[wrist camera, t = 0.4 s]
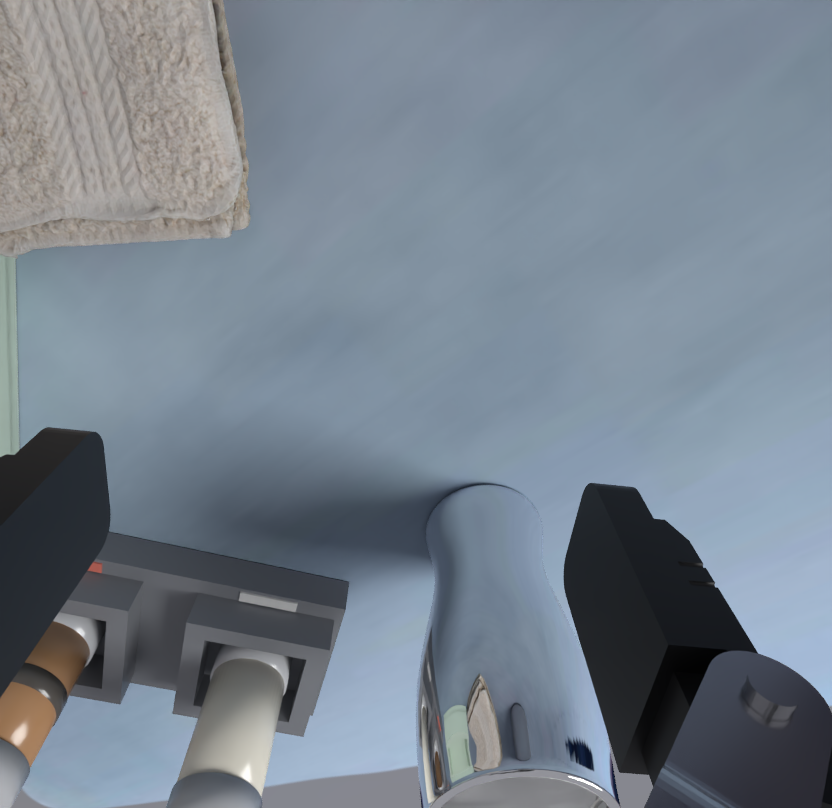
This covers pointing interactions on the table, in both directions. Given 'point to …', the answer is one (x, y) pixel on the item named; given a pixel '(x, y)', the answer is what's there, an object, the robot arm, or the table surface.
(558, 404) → the table surface
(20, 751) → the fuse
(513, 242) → the table surface
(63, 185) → the washcloth
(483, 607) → the beer glass
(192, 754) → the fuse
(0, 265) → the parts tray
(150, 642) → the fuse block
